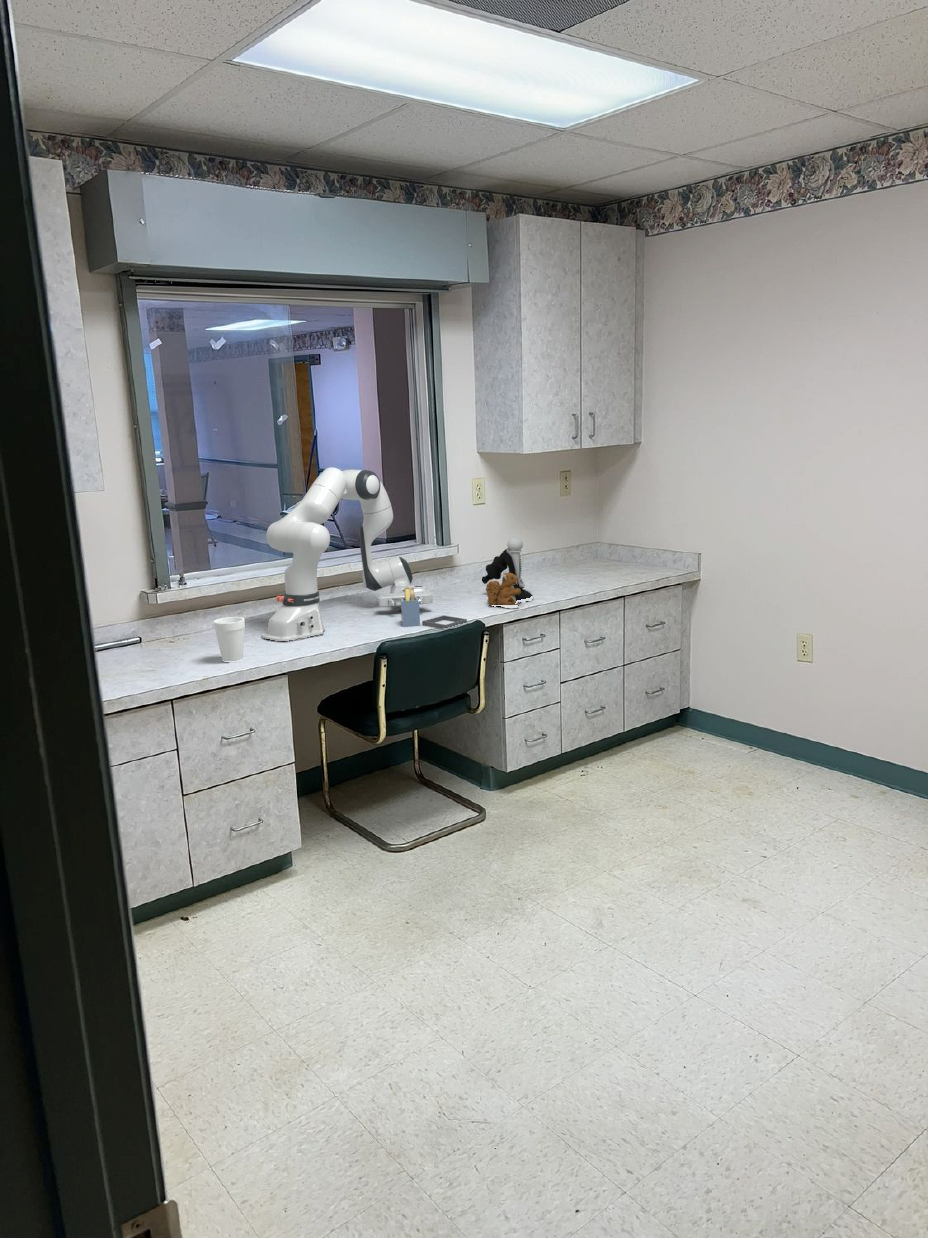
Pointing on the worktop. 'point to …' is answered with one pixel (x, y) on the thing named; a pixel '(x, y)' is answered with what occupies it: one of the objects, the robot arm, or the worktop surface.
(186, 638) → the worktop surface
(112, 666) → the worktop surface
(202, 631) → the worktop surface
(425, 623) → the gray square frame
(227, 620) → the foam cup
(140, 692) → the worktop surface
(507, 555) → the sculpture
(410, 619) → the pencil cup
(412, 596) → the wooden peg
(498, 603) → the stuffed squirrel
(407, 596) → the mustard peg
